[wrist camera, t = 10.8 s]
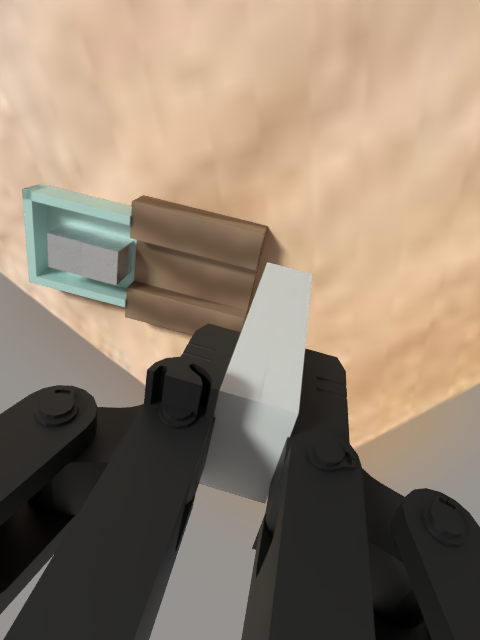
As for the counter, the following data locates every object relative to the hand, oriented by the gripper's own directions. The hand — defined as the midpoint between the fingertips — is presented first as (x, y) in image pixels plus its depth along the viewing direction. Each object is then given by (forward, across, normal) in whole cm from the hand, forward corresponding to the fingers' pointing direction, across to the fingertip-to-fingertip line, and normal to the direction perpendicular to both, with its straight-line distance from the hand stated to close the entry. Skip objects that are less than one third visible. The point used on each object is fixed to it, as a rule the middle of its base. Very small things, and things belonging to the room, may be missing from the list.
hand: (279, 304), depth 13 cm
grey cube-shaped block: (+29, -24, -14) cm, 40 cm away
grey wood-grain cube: (+29, -20, -14) cm, 38 cm away
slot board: (+30, -10, -14) cm, 34 cm away
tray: (+30, -23, -14) cm, 40 cm away
